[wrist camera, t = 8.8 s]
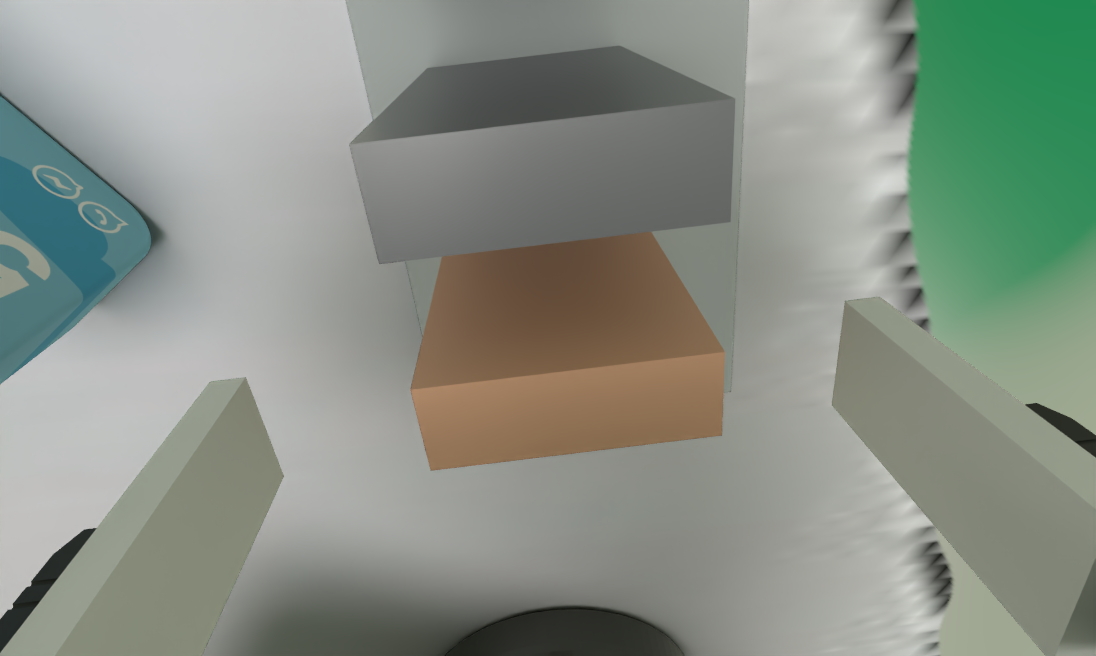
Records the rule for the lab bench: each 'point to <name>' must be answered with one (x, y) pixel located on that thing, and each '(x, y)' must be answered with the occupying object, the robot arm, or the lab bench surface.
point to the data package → (55, 240)
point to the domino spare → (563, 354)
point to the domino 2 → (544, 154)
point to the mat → (561, 26)
